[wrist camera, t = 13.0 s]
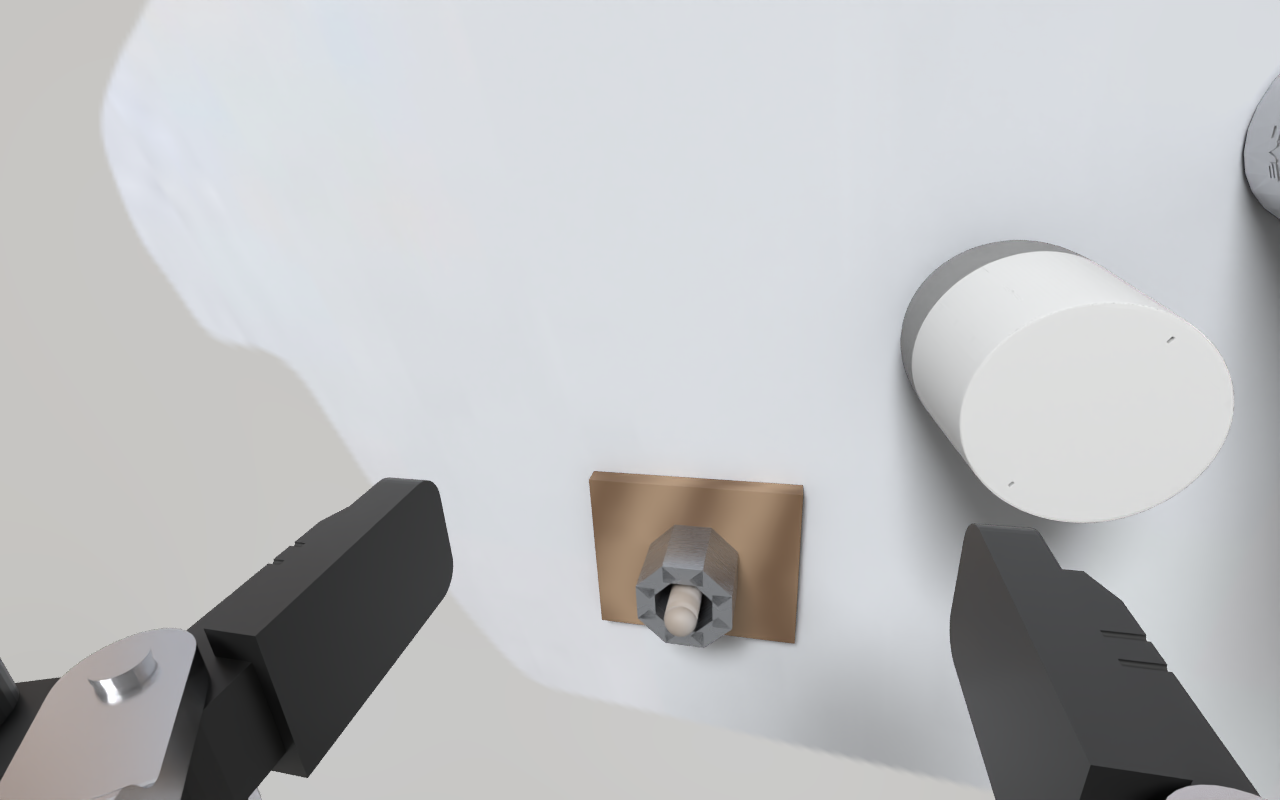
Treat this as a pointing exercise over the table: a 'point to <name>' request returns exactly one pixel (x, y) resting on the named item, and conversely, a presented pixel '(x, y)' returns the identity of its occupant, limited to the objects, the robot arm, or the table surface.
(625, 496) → the post stand
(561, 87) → the table surface
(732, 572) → the ring
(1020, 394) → the smart speaker
